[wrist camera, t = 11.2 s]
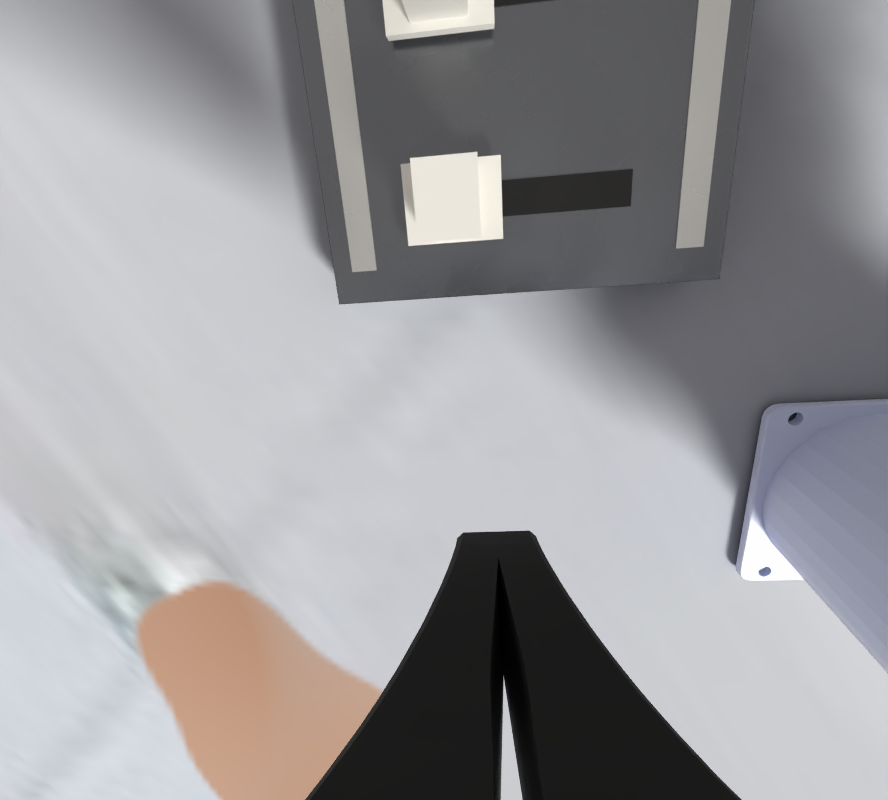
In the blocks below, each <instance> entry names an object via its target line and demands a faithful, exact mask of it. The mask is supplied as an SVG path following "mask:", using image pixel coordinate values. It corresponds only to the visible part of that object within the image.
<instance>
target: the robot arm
mask: <svg viewBox="0 0 888 800" xmlns="http://www.w3.org/2000/svg"><path fill="white" fill-rule="evenodd" d="M793 413H797V415H796V417H795V418H794V419H793V420H792V421H788V419H789V417H790V415H792V414H793ZM762 567H765V568H764V569H762V570H759V569H761V568H762ZM736 571H737V572H738V573H739V575H740V576H741V578H743V579H745V580H805V581H806V582H807V584H808V585H809V586H810V587H811V588H812V589H813V590H814V591H815V593H816V594H817V595H818V596H819V597H820V598H821V599H822V600H823V602H824V603H825V604H826V605H827V606H828V607H829V608H830V609H831V610H832V612H833V613H834V614H835V615H836V616H837V617H838V618H839V619H840V621H841V622H842V623H843V624H844V625H845V626H846V627H847V628H848V630H849V631H850V632H851V633H852V634H853V635H854V636H855V637H856V638H857V640H858V641H859V642H860V643H861V644H862V645H863V646H864V647H865V649H866V650H867V651H868V652H869V653H870V654H871V655H872V656H873V658H874V659H875V660H876V661H877V662H878V663H879V664H880V665H881V666H882V668H883V669H884V670H885V671H886V672H887V673H888V399H873V400H850V401H827V402H804V403H781V404H774V405H771V406H770V407H768V408H767V409H766V410H765V411H764V413H763V415H762V419H761V425H760V431H759V436H758V442H757V448H756V454H755V459H754V465H753V471H752V476H751V482H750V488H749V494H748V499H747V505H746V511H745V516H744V522H743V528H742V534H741V539H740V545H739V551H738V556H737V562H736ZM503 674H504V680H505V687H506V694H507V700H508V707H509V713H510V720H511V726H512V733H513V739H514V746H515V752H516V759H517V765H518V772H519V778H520V785H521V791H522V798H523V800H741V799H740V798H739V797H738V796H737V795H736V794H735V793H734V792H733V791H732V790H731V789H730V788H729V787H728V786H727V785H726V784H725V783H724V782H723V781H722V780H721V779H720V778H719V777H718V776H717V775H716V774H715V773H714V772H713V771H712V770H711V769H710V768H709V767H708V765H707V764H706V763H705V762H704V761H703V760H702V759H701V758H700V757H699V756H698V755H697V754H696V753H695V752H694V750H693V749H692V748H691V747H690V746H689V745H688V744H687V743H686V742H685V741H684V740H683V739H682V738H681V737H680V736H679V734H678V733H677V732H676V731H675V730H674V729H673V728H672V727H671V725H670V724H669V723H668V722H667V721H666V720H665V719H664V718H663V716H662V715H661V714H660V713H659V712H658V711H657V710H656V708H655V707H654V706H653V705H652V704H651V703H650V702H649V700H648V699H647V698H646V697H645V696H644V695H643V693H642V692H641V691H640V690H639V689H638V687H637V686H636V685H635V684H634V683H633V681H632V680H631V679H630V678H629V676H628V675H627V674H626V673H625V671H624V670H623V669H622V668H621V666H620V665H619V664H618V663H617V661H616V660H615V659H614V657H613V656H612V655H611V653H610V652H609V651H608V650H607V648H606V647H605V646H604V644H603V643H602V642H601V640H600V639H599V638H598V636H597V635H596V634H595V632H594V631H593V630H592V628H591V627H590V625H589V624H588V622H587V621H586V620H585V618H584V617H583V615H582V614H581V612H580V611H579V609H578V608H577V606H576V605H575V604H574V602H573V601H572V599H571V598H570V596H569V595H568V593H567V592H566V590H565V589H564V587H563V585H562V584H561V582H560V581H559V579H558V577H557V576H556V574H555V572H554V571H553V569H552V567H551V566H550V564H549V562H548V560H547V558H546V557H545V555H544V553H543V551H542V549H541V547H540V545H539V543H538V541H537V538H536V536H535V535H534V534H533V533H532V532H530V531H505V532H471V533H462V534H461V535H460V536H459V537H458V538H457V543H456V547H455V550H454V553H453V556H452V559H451V562H450V565H449V567H448V570H447V572H446V575H445V577H444V579H443V582H442V584H441V586H440V589H439V591H438V593H437V595H436V597H435V599H434V601H433V603H432V605H431V607H430V610H429V612H428V614H427V616H426V618H425V620H424V622H423V624H422V626H421V628H420V629H419V631H418V633H417V635H416V636H415V638H414V640H413V642H412V644H411V645H410V647H409V649H408V651H407V653H406V654H405V656H404V658H403V660H402V661H401V663H400V665H399V667H398V668H397V670H396V672H395V673H394V675H393V677H392V678H391V680H390V681H389V683H388V685H387V686H386V688H385V689H384V691H383V693H382V694H381V696H380V697H379V699H378V700H377V702H376V704H375V705H374V706H373V708H372V709H371V711H370V712H369V714H368V715H367V717H366V718H365V720H364V721H363V723H362V724H361V726H360V727H359V728H358V730H357V731H356V733H355V734H354V735H353V737H352V738H351V739H350V741H349V742H348V744H347V745H346V746H345V748H344V749H343V750H342V752H341V753H340V755H339V756H338V757H337V759H336V760H335V761H334V763H333V764H332V765H331V767H330V768H329V770H328V771H327V772H326V774H325V775H324V776H323V778H322V779H321V780H320V781H319V783H318V784H317V785H316V787H315V788H314V789H313V791H312V792H311V793H310V794H309V796H308V797H307V798H306V800H500V799H501V758H502V717H503Z"/></svg>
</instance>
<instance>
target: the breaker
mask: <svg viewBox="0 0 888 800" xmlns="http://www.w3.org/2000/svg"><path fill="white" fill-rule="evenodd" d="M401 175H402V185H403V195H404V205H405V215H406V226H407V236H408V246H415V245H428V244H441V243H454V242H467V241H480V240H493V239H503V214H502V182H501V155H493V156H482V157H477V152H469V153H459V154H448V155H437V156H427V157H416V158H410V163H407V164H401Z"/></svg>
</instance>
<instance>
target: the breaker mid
mask: <svg viewBox="0 0 888 800" xmlns="http://www.w3.org/2000/svg"><path fill="white" fill-rule="evenodd" d="M382 1H383V12H384V22H385V32H386V37H387V39H388V41H394V40H402V39H411V38H420V37H428V36H437V35H446V34H454V33H463V32H471V31H480V30H489V29H494V25H495V19H494V0H382Z"/></svg>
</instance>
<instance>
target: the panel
mask: <svg viewBox="0 0 888 800" xmlns="http://www.w3.org/2000/svg"><path fill="white" fill-rule="evenodd" d="M293 6H294V13H295V19H296V26H297V32H298V39H299V45H300V52H301V58H302V65H303V71H304V78H305V84H306V91H307V97H308V104H309V110H310V117H311V123H312V130H313V136H314V143H315V149H316V156H317V162H318V169H319V175H320V182H321V188H322V195H323V202H324V208H325V215H326V221H327V228H328V234H329V241H330V247H331V254H332V260H333V267H334V273H335V280H336V286H337V293H338V299H339V304H352V303H367V302H382V301H397V300H412V299H427V298H442V297H457V296H472V295H487V294H502V293H517V292H532V291H547V290H562V289H577V288H592V287H607V286H622V285H637V284H652V283H667V282H682V281H697V280H712V279H719V278H720V270H721V262H722V254H723V246H724V238H725V230H726V222H727V214H728V206H729V198H730V191H731V183H732V175H733V167H734V159H735V151H736V143H737V135H738V127H739V119H740V111H741V103H742V95H743V87H744V80H745V72H746V64H747V56H748V48H749V40H750V32H751V24H752V16H753V8H754V0H494V19H495V25H494V29H489V30H480V31H471V32H463V33H454V34H446V35H437V36H428V37H420V38H411V39H402V40H394V41H388V39H387V37H386V32H385V22H384V12H383V1H382V0H293ZM469 152H477V157H482V156H493V155H501V182H502V214H503V239H493V240H480V241H467V242H454V243H441V244H428V245H415V246H408V236H407V226H406V215H405V205H404V195H403V185H402V175H401V164H407V163H410V158H416V157H427V156H437V155H448V154H459V153H469Z"/></svg>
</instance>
